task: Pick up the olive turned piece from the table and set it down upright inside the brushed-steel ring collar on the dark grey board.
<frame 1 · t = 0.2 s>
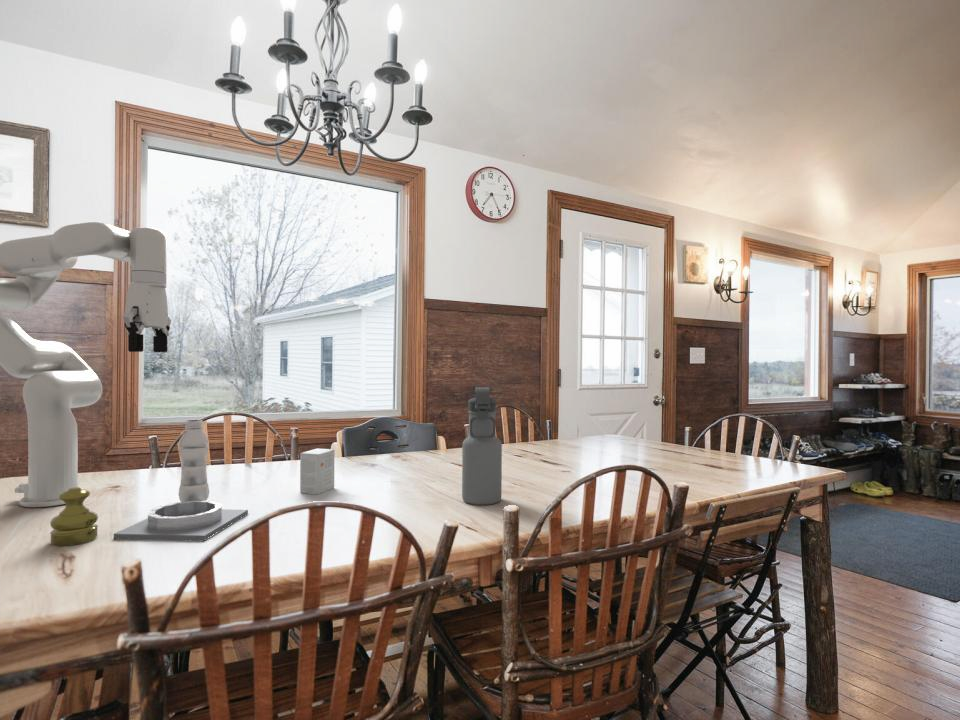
hand: (148, 351, 132), 36 cm above the table, tool pointing down, fingers open, 9 cm apart
water bottle: (481, 501, 137), on the table
small box: (317, 491, 147), on the table
olive turned piece: (74, 541, 106), on the table
plastic bottle: (193, 504, 133), on the table
seat board: (185, 525, 115), on the table
steel ring: (185, 514, 115), on the seat board, point 2 cm above the table
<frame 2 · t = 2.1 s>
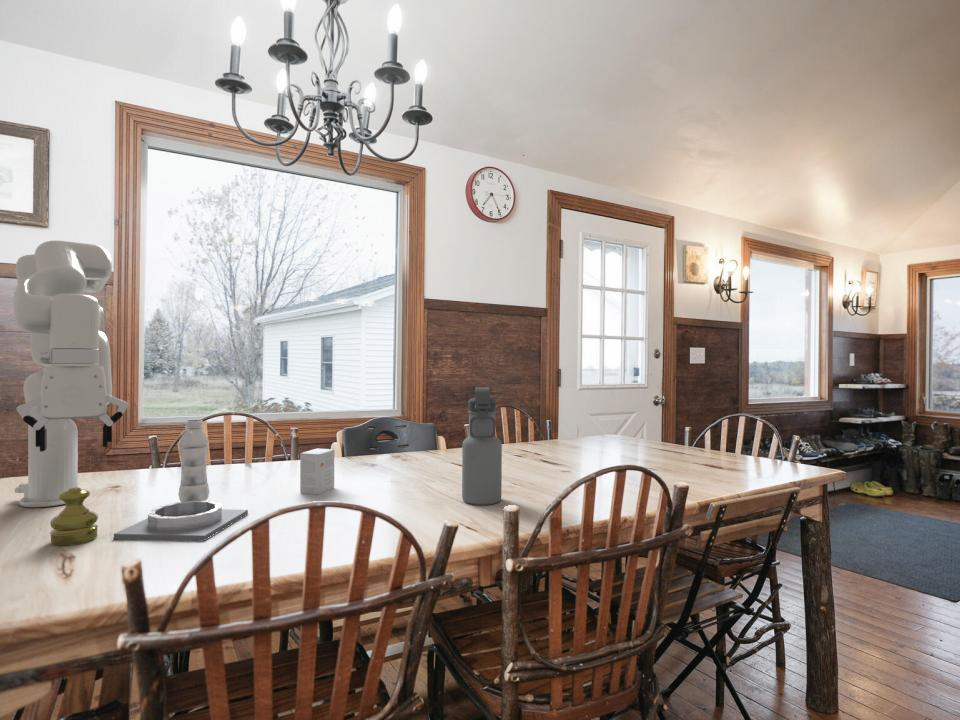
hand: (75, 448, 106), 18 cm above the table, tool pointing down, fingers open, 9 cm apart
nothing on the table moved.
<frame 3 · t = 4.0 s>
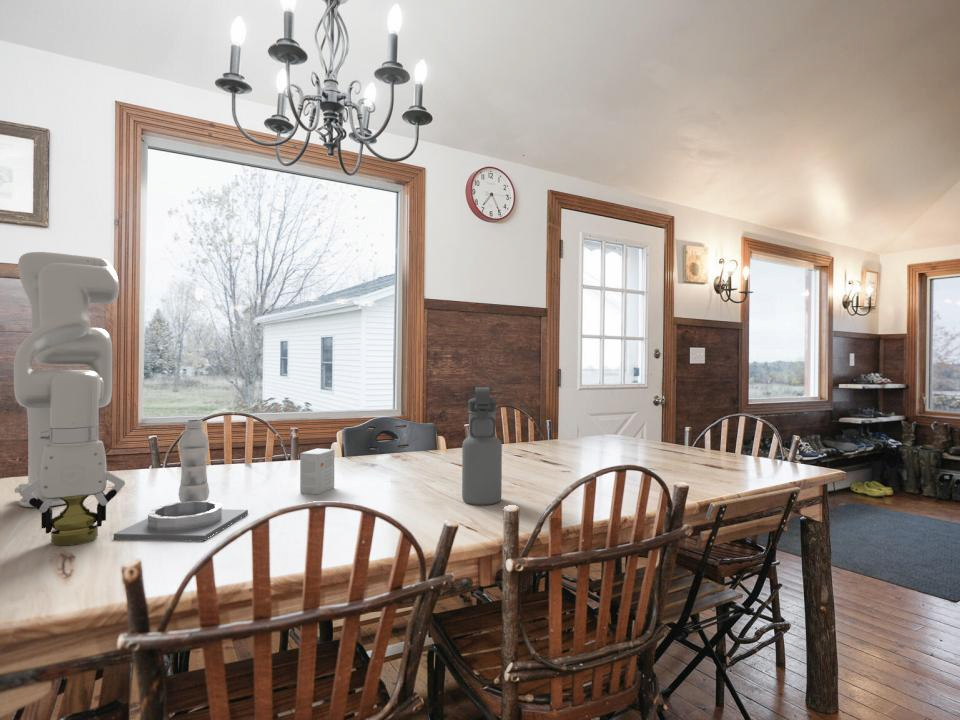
hand: (74, 527, 106), 2 cm above the table, tool pointing down, fingers closed on olive turned piece, 7 cm apart
olive turned piece: (74, 541, 106), on the table, touching gripper
everything else where it was.
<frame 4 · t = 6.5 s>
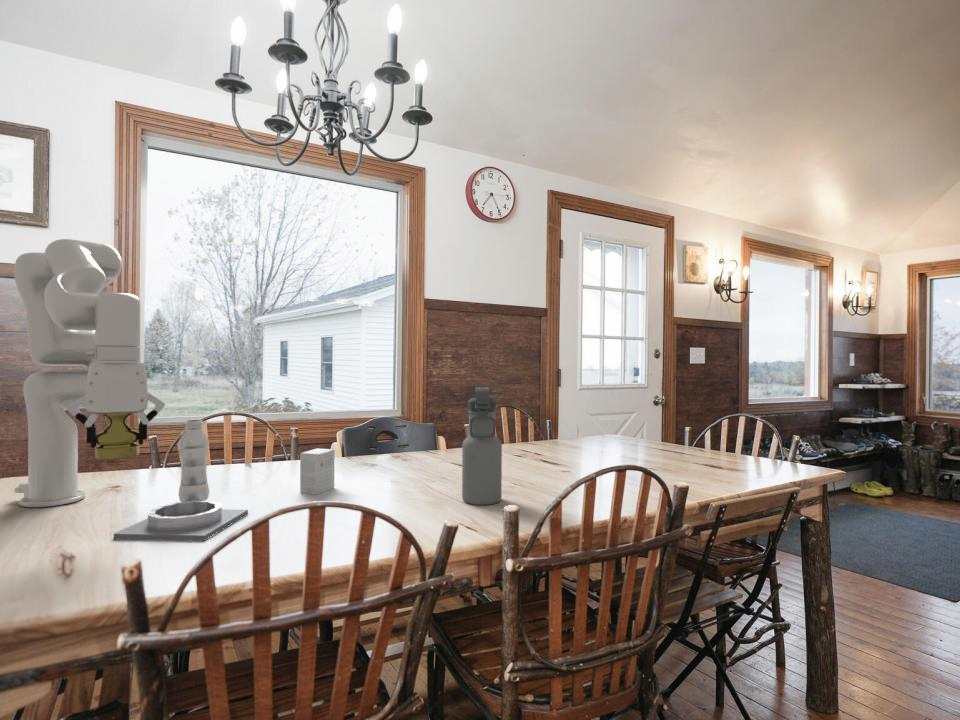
hand: (117, 444, 109), 18 cm above the table, tool pointing down, fingers closed on olive turned piece, 7 cm apart
olive turned piece: (117, 457, 109), point 15 cm above the table, touching gripper
everything else where it was.
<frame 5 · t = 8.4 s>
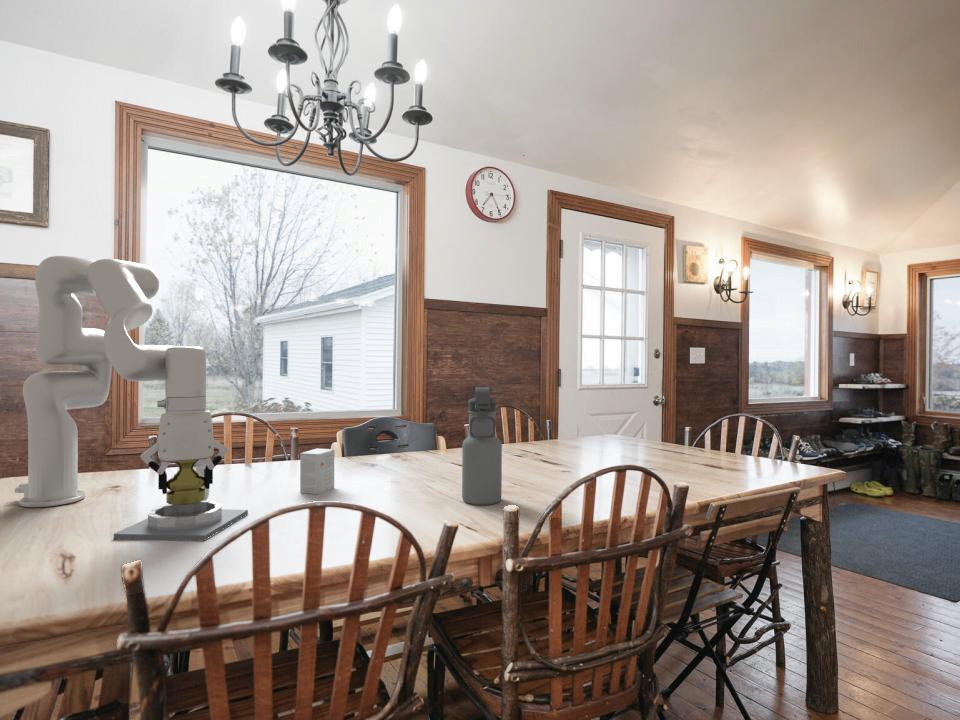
hand: (186, 489, 115), 8 cm above the table, tool pointing down, fingers closed on olive turned piece, 7 cm apart
olive turned piece: (186, 502, 115), point 5 cm above the table, touching gripper
everything else where it was.
when the fingers open (5 cm above the table, at t = 9.6 s): olive turned piece drops 1 cm, resting on seat board.
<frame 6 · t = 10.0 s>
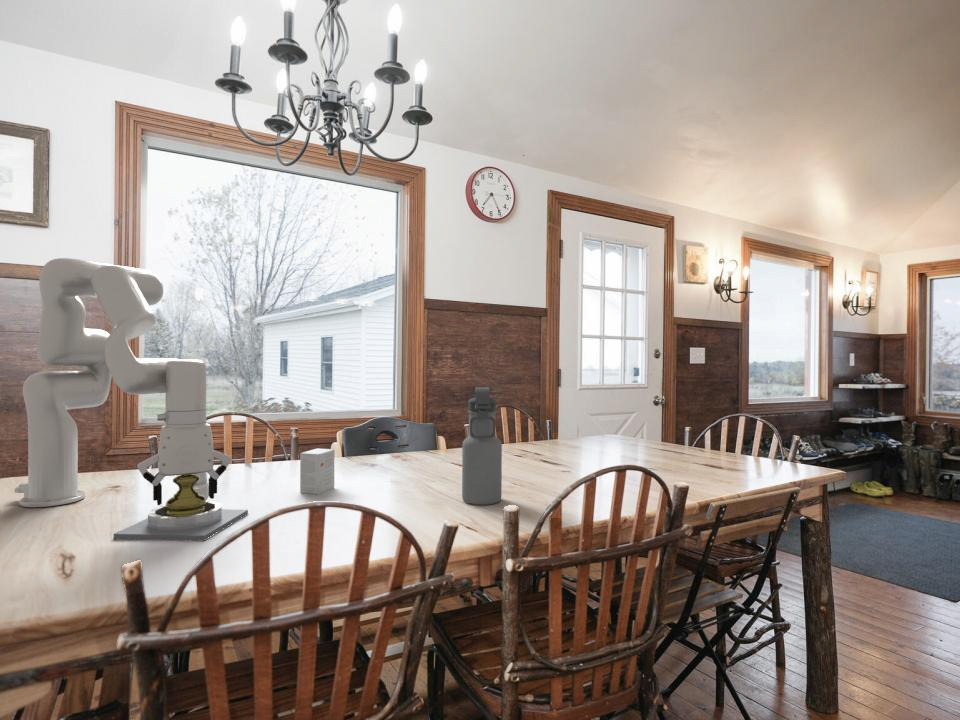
hand: (185, 500, 115), 5 cm above the table, tool pointing down, fingers open, 9 cm apart
olive turned piece: (186, 521, 116), point 1 cm above the table, touching seat board
everything else where it was.
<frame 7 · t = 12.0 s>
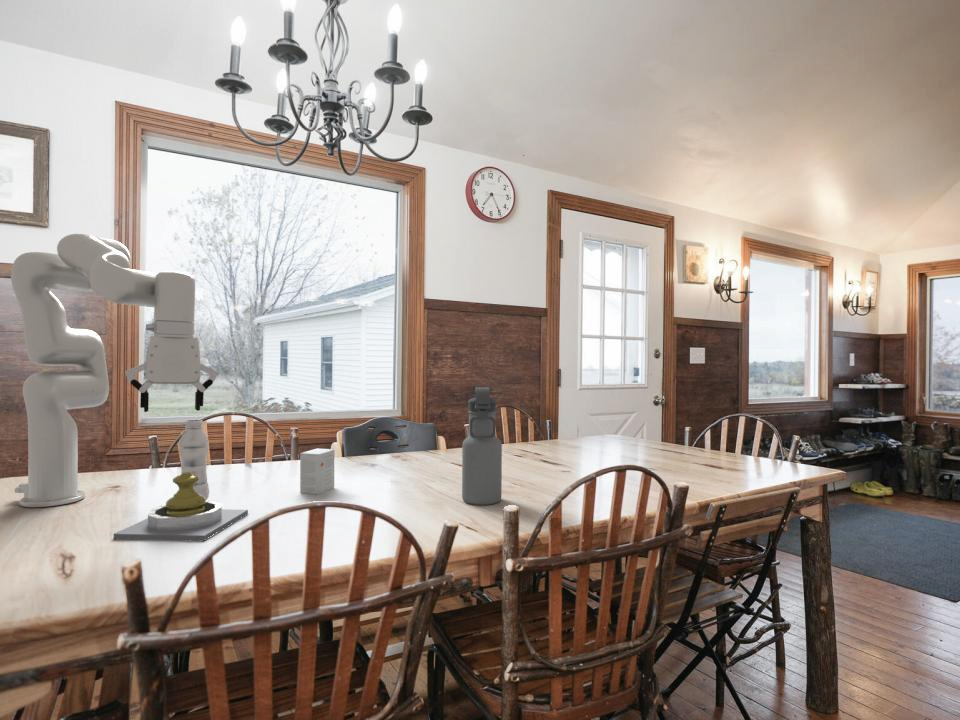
hand: (172, 410, 118), 24 cm above the table, tool pointing down, fingers open, 9 cm apart
nothing on the table moved.
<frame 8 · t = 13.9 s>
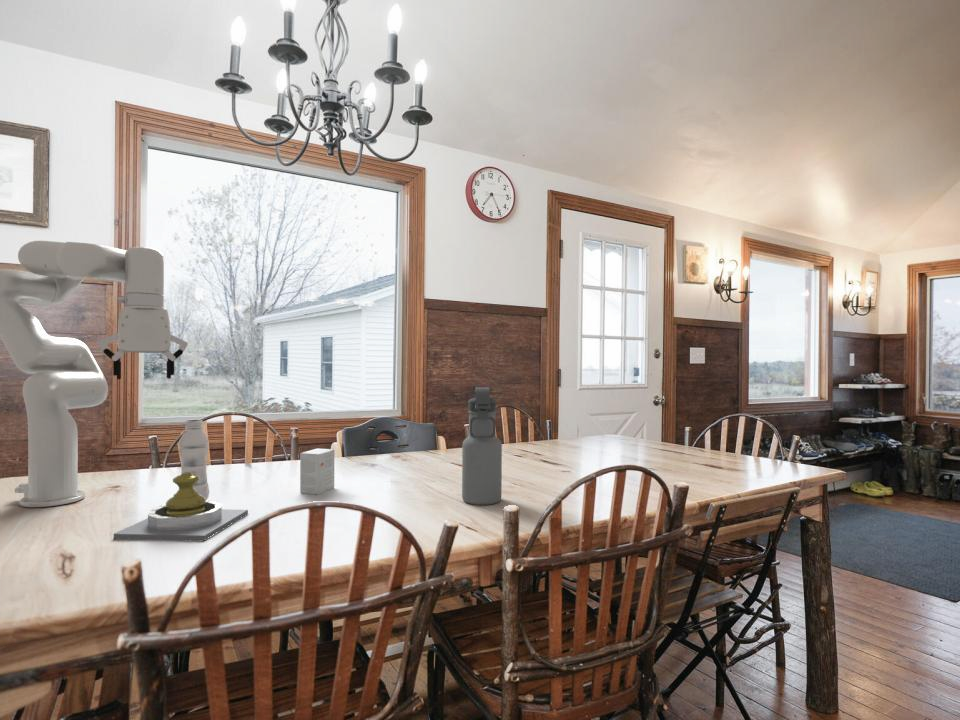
hand: (144, 378, 125), 30 cm above the table, tool pointing down, fingers open, 9 cm apart
nothing on the table moved.
at the end: olive turned piece 0.1 cm off-centre on the seat board, point 0.8 cm above the seat board's base; olive turned piece tilted 0°; the gripper is holding nothing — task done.
